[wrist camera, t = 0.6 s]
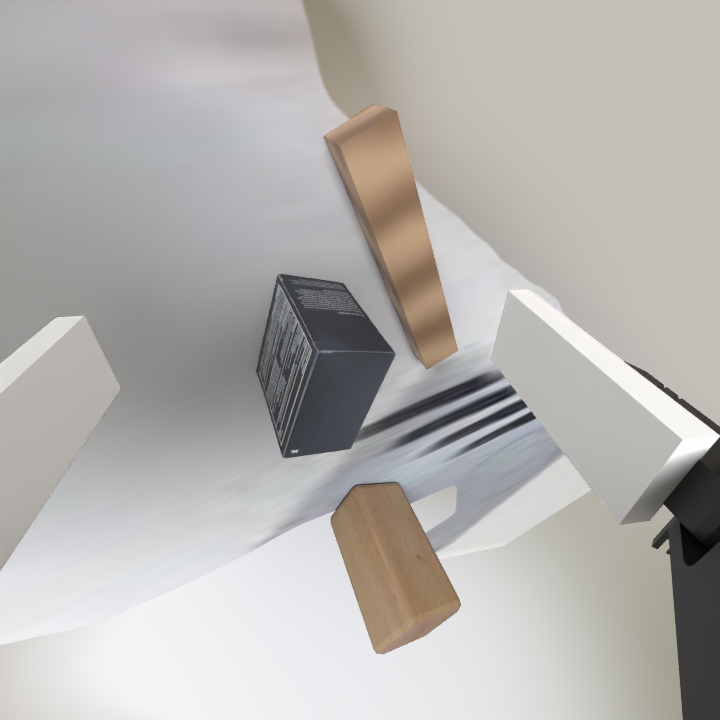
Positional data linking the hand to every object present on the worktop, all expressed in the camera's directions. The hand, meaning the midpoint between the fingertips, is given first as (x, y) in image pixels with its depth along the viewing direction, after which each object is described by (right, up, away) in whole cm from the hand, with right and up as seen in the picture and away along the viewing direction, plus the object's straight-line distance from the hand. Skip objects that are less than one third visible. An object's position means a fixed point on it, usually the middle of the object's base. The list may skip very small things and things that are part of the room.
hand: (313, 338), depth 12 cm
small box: (-4, +2, +21) cm, 22 cm away
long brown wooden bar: (+5, +8, +21) cm, 23 cm away
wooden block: (+2, -25, +50) cm, 55 cm away
